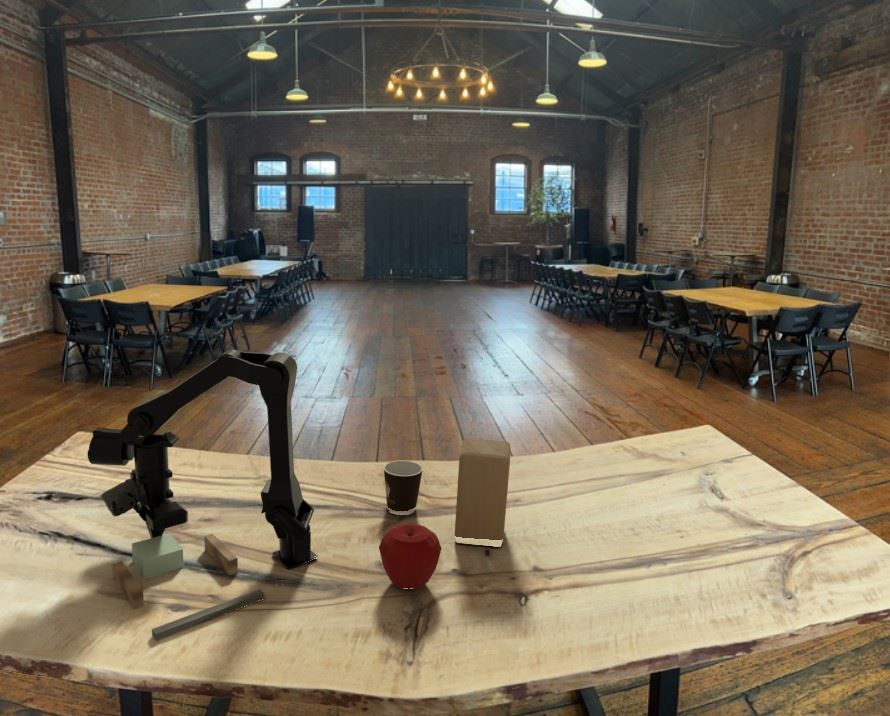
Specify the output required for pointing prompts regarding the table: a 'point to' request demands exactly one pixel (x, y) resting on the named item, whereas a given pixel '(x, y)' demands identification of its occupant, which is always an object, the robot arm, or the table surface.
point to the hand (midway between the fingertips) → (155, 541)
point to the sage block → (157, 555)
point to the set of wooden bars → (231, 567)
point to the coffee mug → (402, 484)
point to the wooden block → (482, 489)
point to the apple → (409, 554)
